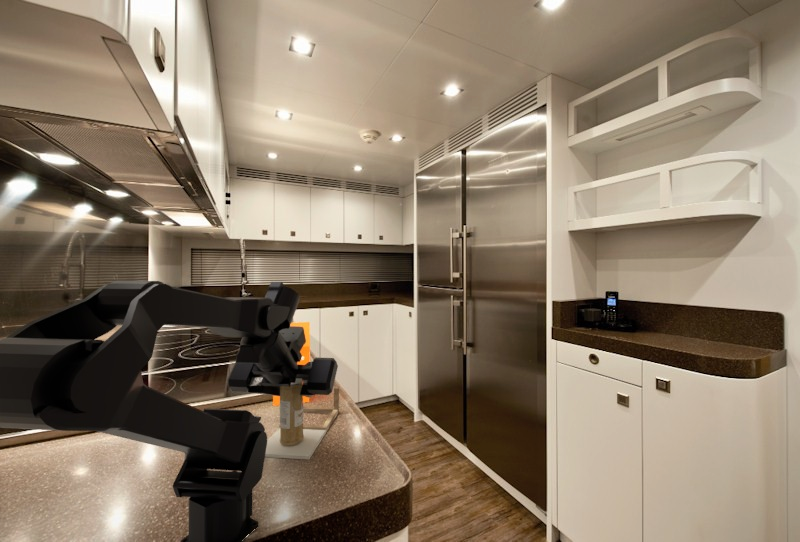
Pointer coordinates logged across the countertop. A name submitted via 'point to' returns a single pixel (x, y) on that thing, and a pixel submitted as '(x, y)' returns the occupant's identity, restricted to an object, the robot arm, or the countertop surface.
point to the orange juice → (304, 352)
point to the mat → (298, 450)
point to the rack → (332, 412)
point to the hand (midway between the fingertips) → (296, 394)
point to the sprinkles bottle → (291, 414)
